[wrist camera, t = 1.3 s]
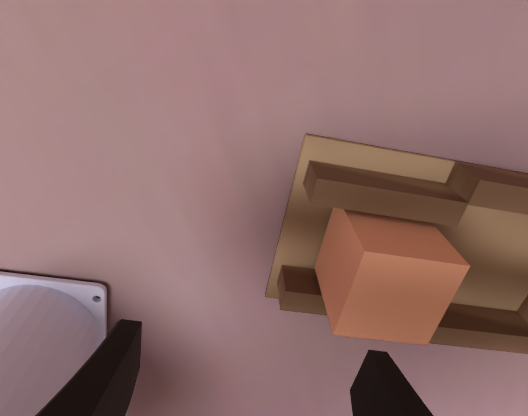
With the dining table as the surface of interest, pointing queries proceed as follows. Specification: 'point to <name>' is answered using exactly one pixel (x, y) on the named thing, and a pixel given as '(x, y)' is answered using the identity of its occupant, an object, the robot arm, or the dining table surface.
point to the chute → (421, 209)
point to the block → (386, 276)
